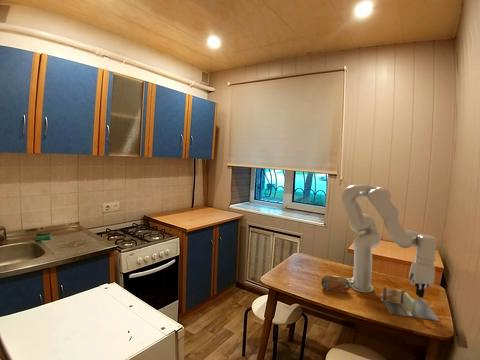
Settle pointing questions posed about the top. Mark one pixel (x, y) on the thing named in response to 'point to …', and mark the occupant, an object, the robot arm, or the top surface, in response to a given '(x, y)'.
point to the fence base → (396, 306)
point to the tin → (335, 283)
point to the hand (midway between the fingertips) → (419, 295)
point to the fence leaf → (409, 303)
